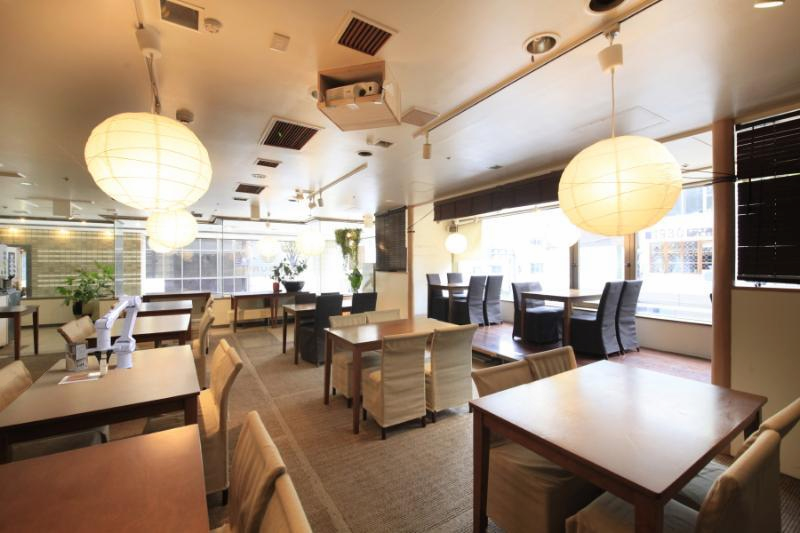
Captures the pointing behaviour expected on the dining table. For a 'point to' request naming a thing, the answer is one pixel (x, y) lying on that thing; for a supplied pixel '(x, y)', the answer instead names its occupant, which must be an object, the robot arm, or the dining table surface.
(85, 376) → the tile
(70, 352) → the coffee box
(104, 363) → the tall beige block
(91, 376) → the mat
